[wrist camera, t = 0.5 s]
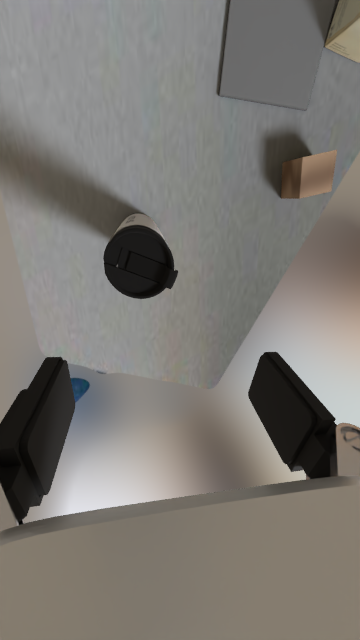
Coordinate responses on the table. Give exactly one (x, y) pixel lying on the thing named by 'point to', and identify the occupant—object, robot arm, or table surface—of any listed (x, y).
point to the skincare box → (345, 30)
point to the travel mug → (139, 259)
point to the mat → (274, 50)
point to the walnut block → (308, 175)
